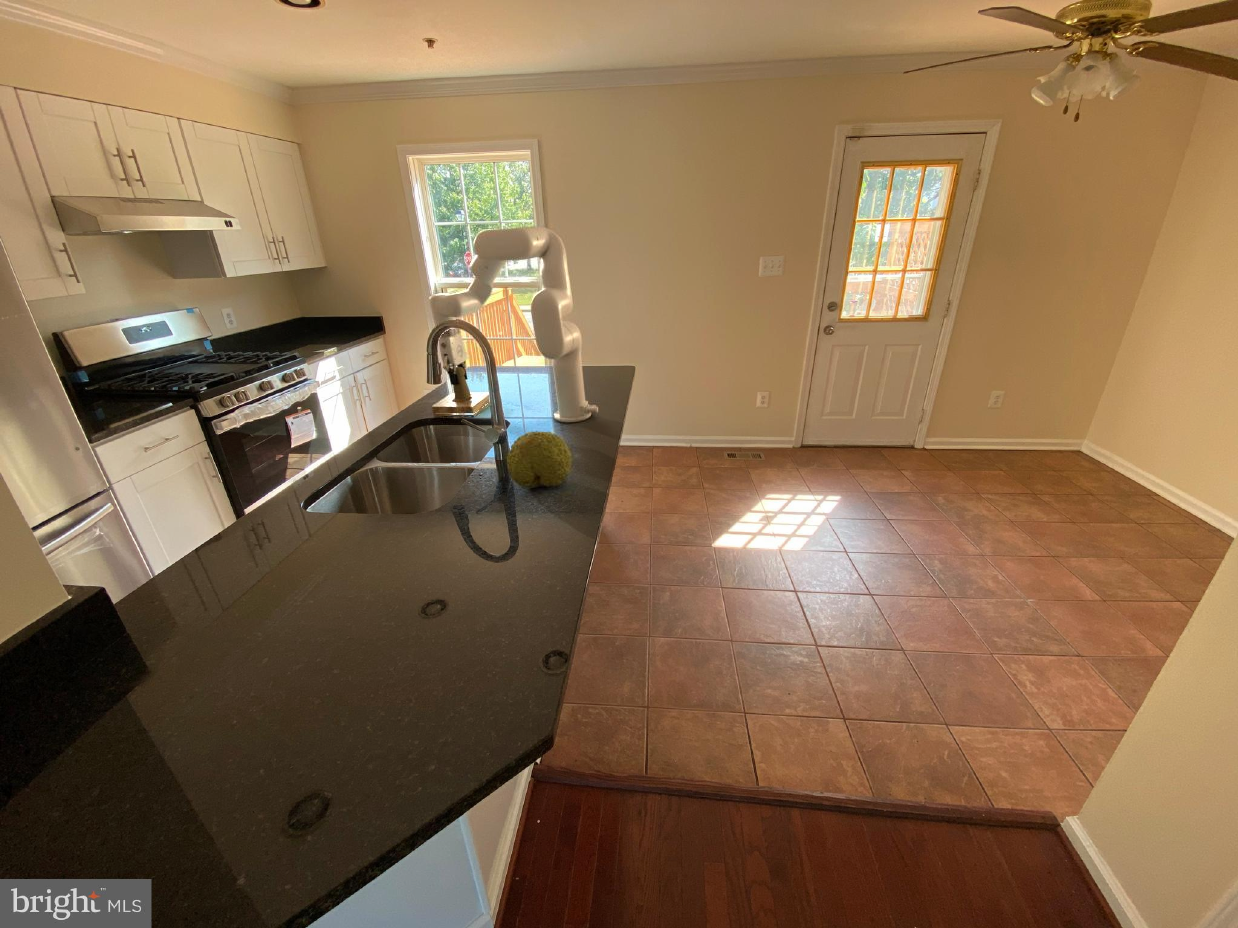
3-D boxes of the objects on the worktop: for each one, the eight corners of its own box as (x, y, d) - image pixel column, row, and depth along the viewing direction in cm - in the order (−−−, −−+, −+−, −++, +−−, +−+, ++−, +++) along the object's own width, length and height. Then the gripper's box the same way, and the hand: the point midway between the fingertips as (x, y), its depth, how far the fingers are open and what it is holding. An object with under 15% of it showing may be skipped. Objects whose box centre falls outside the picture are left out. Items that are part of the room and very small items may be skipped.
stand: (493, 402, 191) (491, 392, 189) (474, 417, 177) (472, 406, 175) (455, 402, 194) (453, 392, 192) (433, 416, 180) (431, 406, 178)
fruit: (520, 506, 118) (490, 449, 116) (526, 497, 132) (500, 446, 131) (581, 475, 119) (553, 418, 117) (581, 470, 133) (555, 419, 131)
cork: (461, 400, 179) (454, 370, 174) (451, 398, 183) (444, 369, 178) (474, 395, 183) (468, 366, 179) (464, 393, 187) (458, 364, 182)
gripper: (445, 336, 164) (457, 389, 172) (469, 326, 179) (479, 375, 187) (425, 337, 166) (438, 389, 174) (450, 327, 181) (461, 375, 189)
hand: (459, 381), depth 181 cm, fingers closed on cork, 5 cm apart
